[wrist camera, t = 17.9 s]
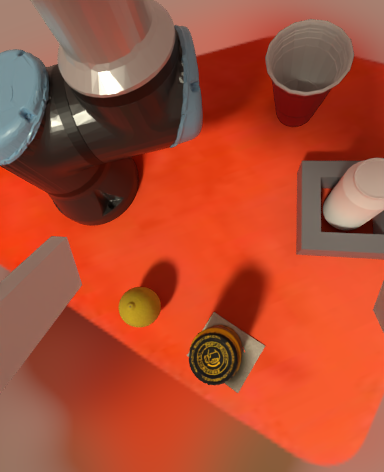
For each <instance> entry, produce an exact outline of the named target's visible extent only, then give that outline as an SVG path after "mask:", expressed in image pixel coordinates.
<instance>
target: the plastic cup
mask: <svg viewBox="0 0 384 472" xmlns="http://www.w3.org/2000/svg"><path fill="white" fill-rule="evenodd" d="M353 57H354V51H353V46H352V42H351V39H350V38H349V37H348V36H347V34H346V33H345V32H344V31H343V29H342V28H340V27H338V26H336V25H334V24H332V23H330V22H328V21H323V20H314V19H309V20H305V21H300V22H295V23H293V24H291V25H290V26H288V27H286V28H284V29H283V30H281V31H280V32H279V33H278V34H277V35H276V36H275V38H274V39H273V40H272V41H271V42H270V44H269V47H268V50H267V54H266V57H265V59H266V66H267V72H268V74H269V76H270V77H271V80H272V84H273V92H274V100H275V107H276V114H277V117H278V119H279V120H280V122H281V123H283V124H285V125H286V126H291V127H296V126H301V125H303V124H305V123H306V122H307V121H308V120H309V119H310V118H311V117H312V116H313V114H314V113H315V111H316V110H317V108H318V107H319V106H320V105H321V103H322V102H323V100H324V99H325V97H326V96H327V94H328V93H329V91H330V90H331V88H332V87H334V86H336V85H338V84H339V83H340V82H341V80H342V79H343V78H344V77H345V75H346V74H347V73H348V72H349V71H350V68H351V65H352V61H353Z"/></svg>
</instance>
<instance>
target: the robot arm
mask: <svg viewBox="0 0 384 472" xmlns="http://www.w3.org/2000/svg"><path fill="white" fill-rule="evenodd" d="M31 2H32V4H33V5H34V7H35V8H36V9H37V11H38V13H39V14H40V15H41V17H42V18H43V20H44V21H45V23H46V24H47V26H48V27H49V29H50V30H51V32H52V33H53V35H54V36H55V38H56V39H57V41H58V42H59V43H60V46H59V49H58V64H57V65H53V66H50V67H45V65H44V64H43V62H42V61H41V60H40V59H39V58H37V57H35V56H33V55H32V54H31V53H26V52H25V51H23V50H17V49H15V50H8V51H4V52H2V53H0V166H1V167H3V168H5V169H6V170H8V171H10V172H12V173H13V174H15V175H17V176H19V177H20V178H22V179H24V180H26V181H27V182H29V183H31V184H33V185H35V186H36V187H38V188H40V189H42V190H43V191H45V192H47V193H48V194H49V196H50V197H51V198H52V200H53V202H54V204H55V205H56V207H57V208H58V209H59V211H60V212H61V213H63V214H64V215H65V216H66V217H68V218H70V219H72V220H74V221H75V222H78V223H80V224H84V225H100V224H104V223H107V222H110V221H112V220H114V219H115V218H117V217H118V216H120V215H121V214H122V213H123V212H124V211H125V210H126V209H127V208H128V207H129V205H130V204H131V203H132V201H133V199H134V197H135V195H136V192H137V188H138V182H139V177H138V170H137V167H136V164H135V162H134V161H133V159H132V158H131V157H132V156H136V155H140V154H144V153H148V152H152V151H157V150H161V149H165V148H169V147H170V148H172V147H175V146H176V145H178V144H180V143H183V142H186V141H189V140H192V139H194V138H196V137H197V136H198V134H199V133H200V131H201V128H202V119H203V115H202V98H201V90H200V87H199V73H198V66H197V60H196V54H195V49H194V45H193V41H192V37H191V34H190V32H189V30H188V29H187V27H184V26H176V25H175V26H174V24H173V21H172V19H171V17H170V15H169V13H168V12H167V10H166V9H165V8H164V7H163V6H162V5H160V4H159V3H157V2H156V1H154V0H31ZM81 286H82V283H81V280H80V277H79V274H78V271H77V267H76V264H75V261H74V258H73V255H72V252H71V249H70V246H69V242H68V239H67V237H55V236H51V237H50V238H49V239H48V240H47V241H46V242H45V243H43V244H42V245H41V246H40V247H39V248H38V249H37V250H36V251H35V252H33V253H32V254H31V255H30V256H29V257H28V258H27V259H26V260H25V261H23V262H22V263H21V264H20V265H19V266H18V267H17V268H16V269H15V270H13V271H12V272H11V273H10V274H9V275H8V276H7V277H6V278H5V279H3V280H2V281H1V282H0V394H1V392H2V391H3V390H4V388H5V387H6V385H7V384H8V383H9V381H10V380H11V379H12V378H13V376H14V375H15V373H16V372H17V371H18V370H19V368H20V367H21V366H22V364H23V363H24V362H25V360H26V359H27V357H28V356H29V355H30V354H31V352H32V351H33V350H34V348H35V347H36V345H37V344H38V343H39V342H40V340H41V339H42V337H43V336H44V335H45V334H46V332H47V331H48V330H49V328H50V327H51V326H52V324H53V323H54V322H55V320H56V319H57V318H58V316H59V315H60V314H61V312H62V311H63V310H64V308H65V307H66V306H67V304H68V303H69V302H70V300H71V299H72V298H73V296H74V295H75V294H76V292H77V291H78V290H79V288H80V287H81ZM373 310H374V313H375V315H376V317H377V319H378V321H379V324H380V326H381V328H382V330H383V332H384V281H383V284H382V287H381V289H380V292H379V295H378V298H377V301H376V303H375V306H374V309H373Z"/></svg>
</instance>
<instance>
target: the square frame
mask: <svg viewBox="0 0 384 472" xmlns="http://www.w3.org/2000/svg"><path fill="white" fill-rule="evenodd" d="M358 162H360V161H302V162H301V165H300V167H299V170H298V173H297V250H296V254H298V255H316V256H334V257H351V258H369V259H384V210H383V211H382V212H380V213H379V214H378V215H376V216H375V217H373V218H372V219H373V234H357V233H334V232H321V188H334V187H335V186H336V185H337V183H338V182H339V181H340V179H341V178H342V177H343V175H344V174H345V173H346V171H347V170H348V169H349V168H350V167H351V166H352V165H354V164H356V163H358Z"/></svg>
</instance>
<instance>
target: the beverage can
mask: <svg viewBox="0 0 384 472" xmlns="http://www.w3.org/2000/svg"><path fill="white" fill-rule="evenodd" d="M383 210H384V158H371V159H368V160H364V161H360V162H358V163H356V164H354V165H352V166H351V167H350V168H349V169H348V170H347V171H346V173H345V174H344V175H343V177H342V178H341V179H340V181H339V182H338V183H337V185H336V186H335V187H334V189H333V190H332V191H331V193H330V194H329V196H328V197H327V198H326V200H325V202H324V205H323V214H324V217H325V219H326V221H327V222H328V223H329V224H330V225H331V226H333V227H335V228H337V229H340V230H353V229H356V228H358V227H360V226H362V225H363V224H365V223H366V222H368V221H369V220H370V219H372V218H373V217H375V216H376V215H378V214H379V213H380V212H382V211H383Z"/></svg>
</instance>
